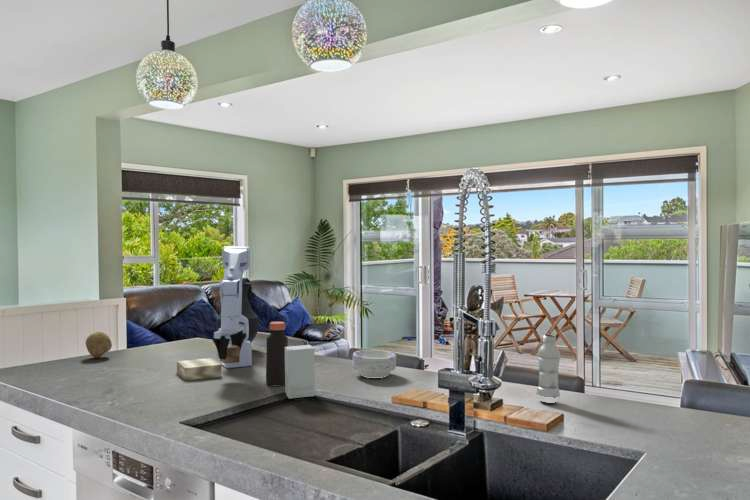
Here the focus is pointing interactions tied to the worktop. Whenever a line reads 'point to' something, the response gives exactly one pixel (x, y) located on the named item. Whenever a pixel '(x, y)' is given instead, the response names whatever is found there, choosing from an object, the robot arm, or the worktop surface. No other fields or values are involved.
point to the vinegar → (276, 354)
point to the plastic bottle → (548, 367)
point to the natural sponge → (98, 344)
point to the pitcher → (246, 311)
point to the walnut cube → (232, 354)
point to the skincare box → (299, 371)
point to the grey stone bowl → (374, 362)
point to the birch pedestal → (198, 368)
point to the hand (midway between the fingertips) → (229, 356)
